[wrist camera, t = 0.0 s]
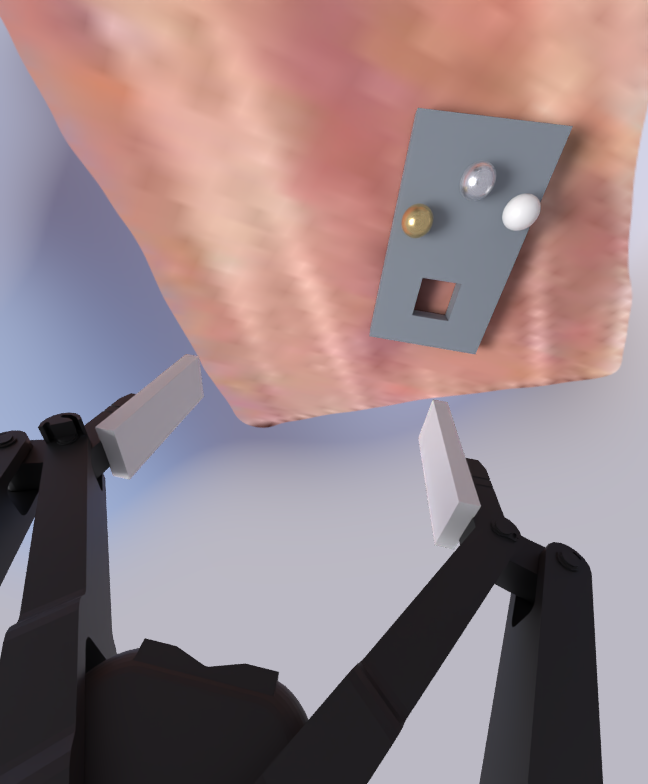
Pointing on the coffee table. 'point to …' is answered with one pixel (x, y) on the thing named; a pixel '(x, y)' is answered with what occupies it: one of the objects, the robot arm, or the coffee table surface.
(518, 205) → the white ball
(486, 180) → the steel ball
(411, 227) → the brass ball
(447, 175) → the board
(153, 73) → the coffee table surface
